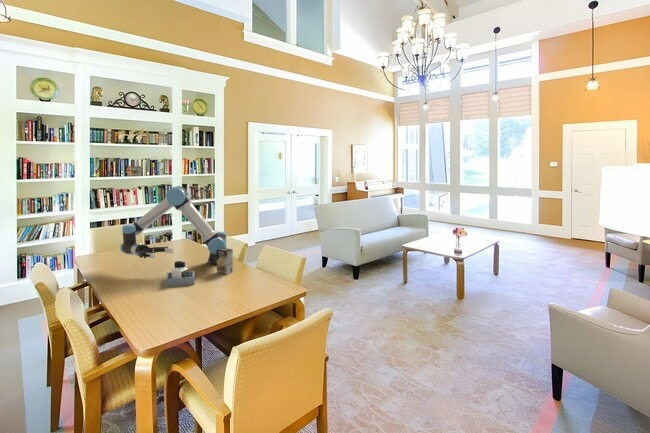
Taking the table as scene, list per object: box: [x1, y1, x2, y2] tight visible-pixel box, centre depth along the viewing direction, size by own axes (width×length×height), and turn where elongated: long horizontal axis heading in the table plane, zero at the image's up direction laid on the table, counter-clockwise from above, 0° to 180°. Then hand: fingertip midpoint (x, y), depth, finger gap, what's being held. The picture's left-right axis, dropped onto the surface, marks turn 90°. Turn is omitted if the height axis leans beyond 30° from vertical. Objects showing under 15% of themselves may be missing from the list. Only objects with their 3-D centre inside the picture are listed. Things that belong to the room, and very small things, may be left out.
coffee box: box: [216, 247, 234, 275], centre depth 240 cm, size 9×6×16 cm
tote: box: [164, 270, 196, 288], centre depth 220 cm, size 16×14×4 cm
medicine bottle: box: [171, 260, 190, 278], centre depth 219 cm, size 7×7×12 cm
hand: (163, 253), depth 224 cm, fingers open, 13 cm apart
